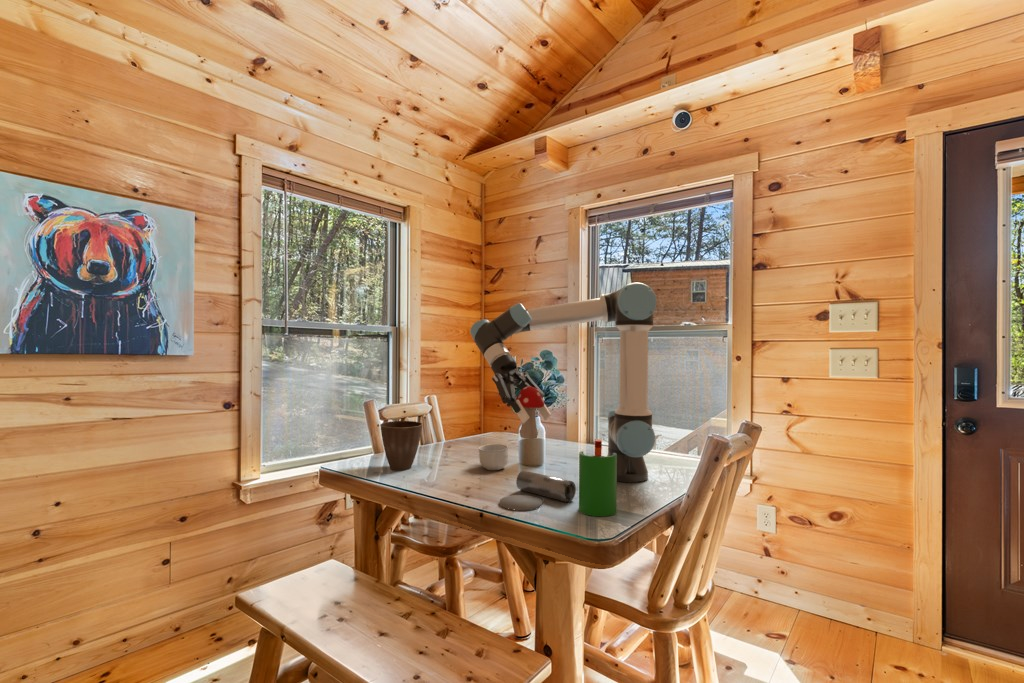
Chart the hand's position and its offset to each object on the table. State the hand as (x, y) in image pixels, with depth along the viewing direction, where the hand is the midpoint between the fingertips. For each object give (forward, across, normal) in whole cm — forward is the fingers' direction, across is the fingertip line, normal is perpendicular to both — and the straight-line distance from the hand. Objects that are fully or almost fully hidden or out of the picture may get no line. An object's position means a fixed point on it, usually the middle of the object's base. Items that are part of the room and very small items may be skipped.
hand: (537, 418), depth 151 cm
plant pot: (-24, +6, -60) cm, 65 cm away
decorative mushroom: (+2, 0, -7) cm, 7 cm away
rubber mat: (+17, +6, -17) cm, 24 cm away
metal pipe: (+16, -5, -17) cm, 24 cm away
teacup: (-9, -18, -44) cm, 48 cm away
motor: (+30, -5, -3) cm, 30 cm away
